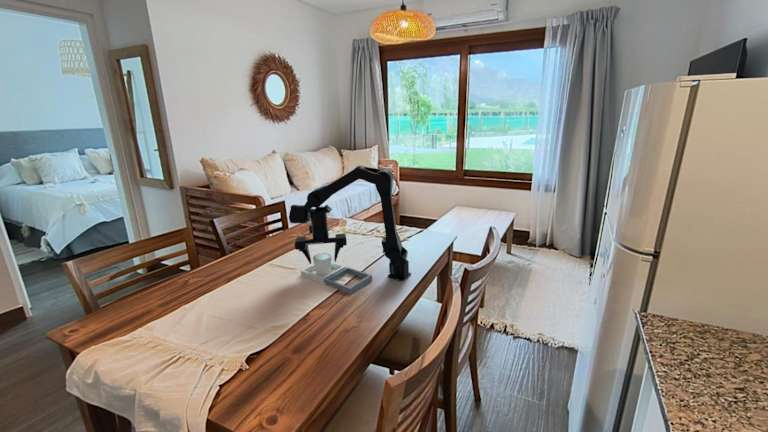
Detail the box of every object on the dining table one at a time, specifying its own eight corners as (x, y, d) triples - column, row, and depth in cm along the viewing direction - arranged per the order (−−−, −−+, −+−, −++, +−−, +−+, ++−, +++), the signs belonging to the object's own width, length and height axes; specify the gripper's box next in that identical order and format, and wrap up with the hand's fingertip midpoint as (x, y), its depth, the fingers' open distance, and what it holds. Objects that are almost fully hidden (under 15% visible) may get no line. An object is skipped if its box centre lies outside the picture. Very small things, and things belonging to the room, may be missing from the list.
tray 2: (372, 279, 126) (372, 274, 126) (350, 294, 117) (350, 288, 116) (347, 271, 133) (347, 267, 132) (325, 284, 124) (324, 279, 123)
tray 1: (345, 271, 134) (345, 266, 133) (323, 283, 124) (322, 278, 124) (324, 263, 140) (323, 259, 140) (301, 275, 131) (300, 270, 131)
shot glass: (331, 277, 129) (329, 260, 127) (312, 277, 129) (311, 260, 127) (334, 269, 136) (332, 252, 134) (316, 269, 136) (315, 253, 134)
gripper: (344, 215, 135) (346, 251, 140) (295, 218, 133) (299, 256, 137) (345, 224, 125) (348, 263, 129) (292, 228, 122) (297, 268, 127)
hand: (322, 262), depth 131 cm, fingers open, 9 cm apart
